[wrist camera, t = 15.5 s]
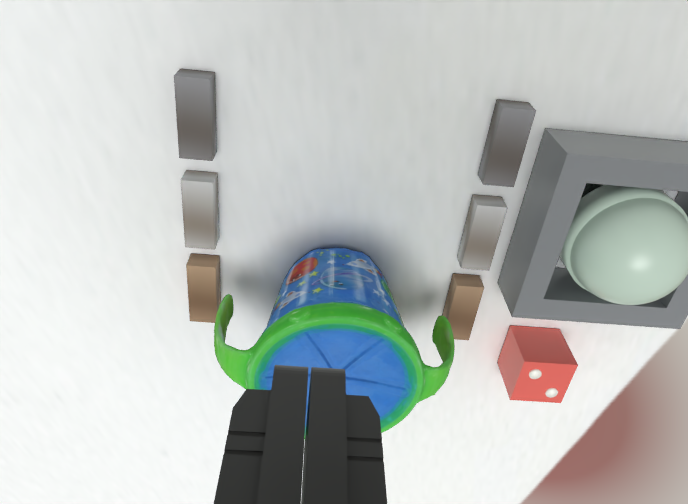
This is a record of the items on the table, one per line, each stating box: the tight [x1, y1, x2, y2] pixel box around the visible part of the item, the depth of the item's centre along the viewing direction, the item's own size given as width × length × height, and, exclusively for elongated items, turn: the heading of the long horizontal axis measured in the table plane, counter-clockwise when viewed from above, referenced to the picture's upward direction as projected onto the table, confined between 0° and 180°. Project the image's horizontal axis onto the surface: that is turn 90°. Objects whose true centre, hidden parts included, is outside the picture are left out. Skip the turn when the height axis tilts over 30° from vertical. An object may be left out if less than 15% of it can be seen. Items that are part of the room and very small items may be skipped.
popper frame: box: [498, 128, 688, 329], centre depth 37 cm, size 12×12×4 cm
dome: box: [560, 185, 688, 305], centre depth 35 cm, size 8×8×7 cm
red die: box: [497, 325, 578, 403], centre depth 43 cm, size 4×4×4 cm
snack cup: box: [214, 248, 454, 439], centre depth 37 cm, size 16×10×10 cm
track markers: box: [174, 69, 536, 340], centre depth 38 cm, size 18×21×2 cm
